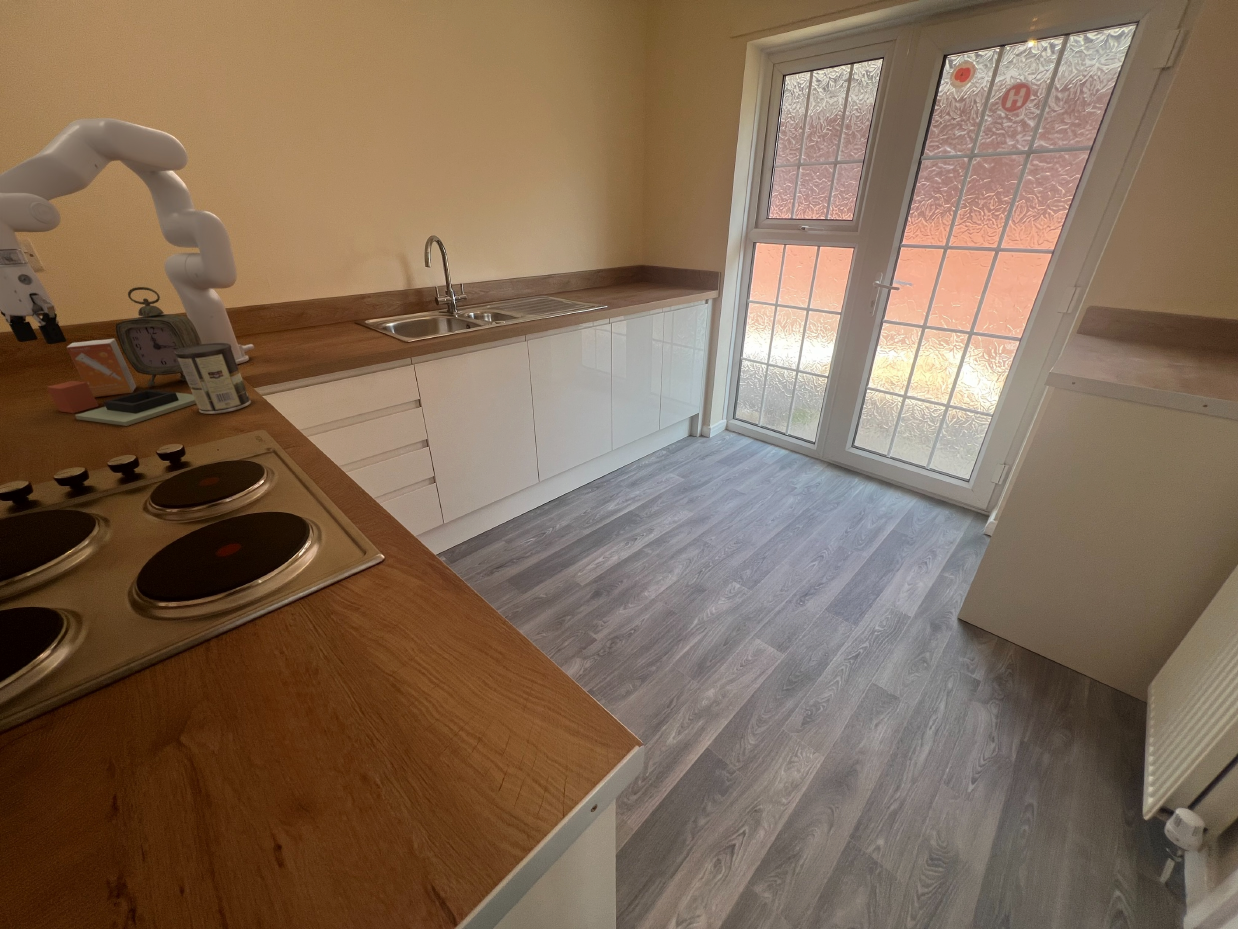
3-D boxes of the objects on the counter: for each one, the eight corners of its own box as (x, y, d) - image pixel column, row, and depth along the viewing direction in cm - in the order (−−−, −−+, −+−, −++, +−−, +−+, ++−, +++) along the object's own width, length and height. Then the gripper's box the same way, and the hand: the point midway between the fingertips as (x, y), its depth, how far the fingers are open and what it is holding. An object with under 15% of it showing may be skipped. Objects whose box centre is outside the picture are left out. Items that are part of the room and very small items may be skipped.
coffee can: (231, 397, 125) (210, 341, 119) (261, 401, 122) (241, 344, 116) (187, 411, 116) (162, 351, 110) (219, 416, 113) (194, 354, 107)
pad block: (84, 404, 122) (72, 380, 119) (99, 406, 121) (87, 382, 118) (59, 411, 118) (46, 386, 115) (73, 413, 116) (60, 388, 114)
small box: (91, 398, 126) (64, 347, 120) (96, 392, 131) (72, 342, 125) (133, 392, 130) (109, 342, 124) (137, 386, 135) (115, 337, 129)
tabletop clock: (140, 389, 133) (95, 290, 121) (162, 379, 141) (122, 285, 129) (200, 385, 135) (161, 288, 123) (218, 376, 143) (183, 283, 131)
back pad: (161, 394, 128) (156, 383, 127) (208, 399, 124) (203, 388, 123) (76, 419, 113) (70, 406, 112) (126, 426, 109) (120, 413, 107)
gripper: (51, 258, 105) (89, 340, 113) (-2, 257, 110) (38, 336, 117) (3, 260, 99) (47, 347, 106) (-51, 260, 103) (-5, 343, 111)
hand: (42, 341), depth 112 cm, fingers open, 9 cm apart
